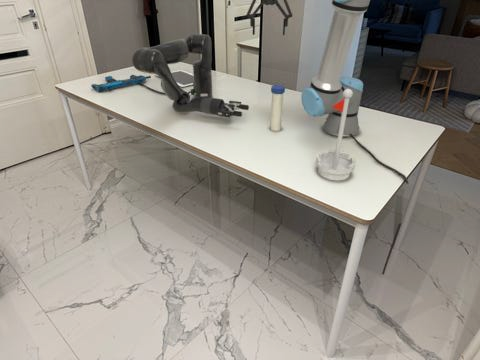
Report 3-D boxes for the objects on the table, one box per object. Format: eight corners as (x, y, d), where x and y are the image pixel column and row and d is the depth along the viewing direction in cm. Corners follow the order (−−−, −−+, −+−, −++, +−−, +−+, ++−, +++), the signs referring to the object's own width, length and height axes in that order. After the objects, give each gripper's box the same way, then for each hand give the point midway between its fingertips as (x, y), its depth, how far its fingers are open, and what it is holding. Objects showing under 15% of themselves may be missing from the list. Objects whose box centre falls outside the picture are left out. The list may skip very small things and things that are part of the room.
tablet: (155, 75, 221) (155, 75, 220) (182, 70, 232) (182, 69, 231) (182, 87, 200) (182, 86, 200) (210, 80, 211) (209, 80, 211)
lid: (285, 93, 140) (286, 88, 139) (272, 94, 140) (272, 89, 139) (283, 89, 145) (283, 84, 144) (270, 89, 145) (270, 85, 144)
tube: (281, 130, 150) (284, 89, 140) (271, 131, 150) (273, 89, 140) (279, 126, 154) (282, 86, 144) (269, 126, 154) (271, 86, 143)
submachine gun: (137, 69, 223) (155, 75, 206) (138, 75, 225) (156, 81, 208) (84, 79, 204) (99, 87, 188) (85, 85, 206) (101, 94, 190)
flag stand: (338, 160, 128) (352, 80, 111) (360, 177, 117) (380, 93, 101) (308, 166, 124) (318, 85, 107) (328, 185, 113) (343, 98, 97)
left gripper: (205, 103, 149) (239, 108, 144) (218, 93, 161) (250, 97, 156) (206, 119, 154) (239, 124, 149) (219, 108, 165) (250, 113, 160)
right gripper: (300, -21, 144) (296, 33, 155) (241, -20, 147) (242, 32, 158) (300, -20, 138) (296, 36, 149) (239, -20, 140) (240, 35, 152)
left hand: (245, 110), depth 152 cm, fingers open, 8 cm apart
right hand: (268, 34), depth 154 cm, fingers open, 13 cm apart
